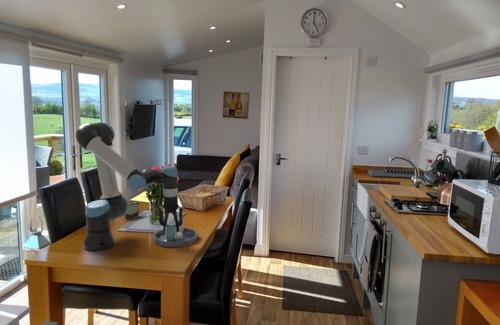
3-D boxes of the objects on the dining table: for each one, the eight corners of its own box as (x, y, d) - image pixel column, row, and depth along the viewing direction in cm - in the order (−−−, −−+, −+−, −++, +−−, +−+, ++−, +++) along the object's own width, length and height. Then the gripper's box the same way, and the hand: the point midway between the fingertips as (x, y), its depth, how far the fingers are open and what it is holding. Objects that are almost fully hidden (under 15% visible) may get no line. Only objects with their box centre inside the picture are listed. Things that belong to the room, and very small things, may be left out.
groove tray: (190, 248, 200) (190, 243, 199) (147, 245, 202) (147, 240, 202) (201, 232, 223) (201, 228, 222) (162, 230, 225) (162, 226, 225)
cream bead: (182, 235, 217) (182, 220, 215) (174, 234, 217) (173, 219, 216) (184, 232, 222) (184, 217, 220) (176, 231, 222) (176, 217, 221)
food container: (135, 213, 258) (134, 199, 256) (140, 215, 254) (139, 201, 252) (118, 218, 248) (118, 203, 247) (124, 220, 244) (123, 204, 243)
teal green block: (174, 243, 202) (174, 226, 200) (165, 242, 202) (165, 226, 201) (177, 239, 207) (177, 223, 205) (168, 239, 207) (168, 223, 206)
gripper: (188, 194, 203) (189, 235, 207) (156, 193, 205) (158, 234, 209) (184, 197, 196) (185, 240, 200) (151, 196, 198) (153, 239, 202)
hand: (171, 237), depth 204 cm, fingers closed on teal green block, 5 cm apart
